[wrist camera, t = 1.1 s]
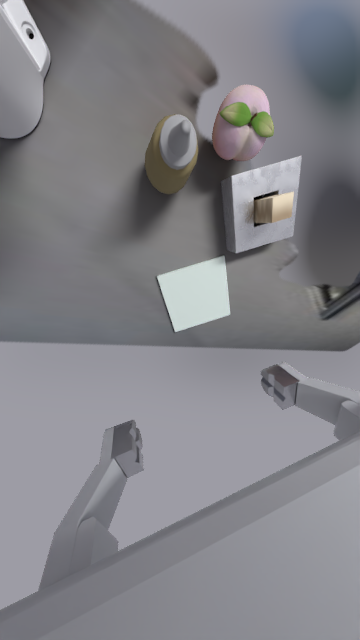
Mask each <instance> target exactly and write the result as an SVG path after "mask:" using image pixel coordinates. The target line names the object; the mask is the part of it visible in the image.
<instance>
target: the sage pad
mask: <svg viewBox="0 0 360 640" xmlns="http://www.w3.org/2000/svg"><path fill="white" fill-rule="evenodd" d="M157 278H158V281H159V284H160V288H161V291H162V294H163V297H164V300H165V303H166V306H167V309H168V312H169V315H170V318H171V321H172V324H173V327H174V330H175V332H177V331H180V330H183V329H187V328H190V327H193V326H196V325H199V324H202V323H205V322H208V321H212V320H215V319H218V318H221V317H224V316H227V315H230V306H229V296H228V286H227V275H226V265H225V256H224V255H223V256H220V257H217V258H213V259H210V260H207V261H204V262H200V263H197V264H194V265H191V266H187V267H184V268H181V269H177V270H174V271H171V272H168V273H164V274H161V275H158V276H157Z"/></svg>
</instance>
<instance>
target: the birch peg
mask: <svg viewBox="0 0 360 640" xmlns="http://www.w3.org/2000/svg"><path fill="white" fill-rule="evenodd" d="M293 197H294V192H289V193H284V194H279V195H274V196H268V197H263V198H259V199H256V200H254V223H274V222H277V221H280V220H283V219H287V218H290V217H292V207H293Z"/></svg>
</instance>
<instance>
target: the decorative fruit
mask: <svg viewBox="0 0 360 640" xmlns="http://www.w3.org/2000/svg"><path fill="white" fill-rule="evenodd" d="M269 111H270V110H269V102H268V99H267V97H266V95H265V93H264V92H263V91H262V90H261V89H260V88H258V87H256V86H252V85H241V86H239V87H237V88H235V89H234V90H232V91H231V92H230V93H229V94H228V95H227V96H226V98H225V99H224V101H223V102H222V104H221V106H220V108H219V111H218V114H217V116H216V120H215V123H214V127H213V133H212V141H213V146H214V149H215V151H216V152H217V154H218V155H219V156H220V157H221V158H223V159H225V160H231V159H234V160H237V161H246V160H250V159H252V158H253V157H254V156H256V155H257V154H258V152H259V151H260V150H261V148H262V146H263V145H264V143H265V140H266V138H267V137H271V136H273V134H274V125H273V121H272V119H271V117H270V112H269Z"/></svg>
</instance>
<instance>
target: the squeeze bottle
mask: <svg viewBox="0 0 360 640" xmlns="http://www.w3.org/2000/svg"><path fill="white" fill-rule="evenodd" d="M197 156H198V143H197V137H196V132H195V130H194V127H193V125H192V123H191V122H190V121H189V120H188V119H187V118H186V117H184V116H182V115H179V114H177V115H175V114H174V115H169V116H165V117H164V118H163V119H162V120H161V121H160V122H159V123H158V124H157V126H156V128H155V130H154V133H153V135H152V138H151V140H150V143H149V145H148V148H147V150H146V154H145V168H146V172H147V177H148V178H149V180H150V182H151V183H152V185H153V186H154V187H155V188H156V189H157V190H159V191H160V192H162V193H166V194H173V193H177V192H178V191H179V190H180V189H182V188H183V187H184V185H185V183H186V181H187V180H188V178H189V176H190V174H191V172H192V170H193V168H194V166H195V164H196V162H197Z"/></svg>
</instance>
